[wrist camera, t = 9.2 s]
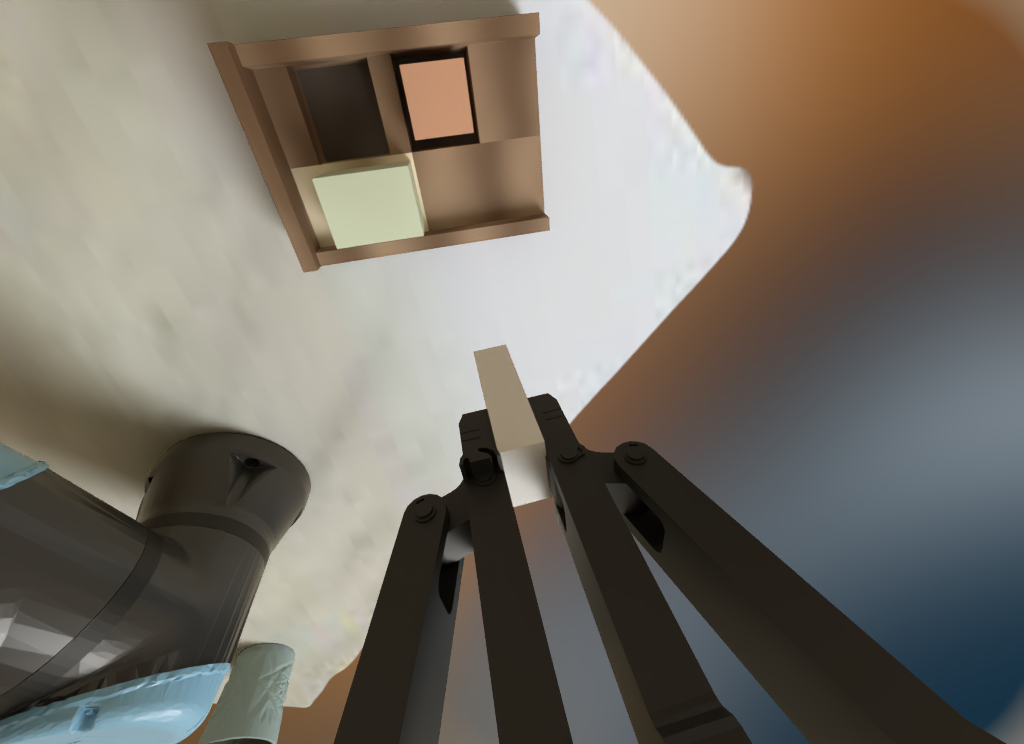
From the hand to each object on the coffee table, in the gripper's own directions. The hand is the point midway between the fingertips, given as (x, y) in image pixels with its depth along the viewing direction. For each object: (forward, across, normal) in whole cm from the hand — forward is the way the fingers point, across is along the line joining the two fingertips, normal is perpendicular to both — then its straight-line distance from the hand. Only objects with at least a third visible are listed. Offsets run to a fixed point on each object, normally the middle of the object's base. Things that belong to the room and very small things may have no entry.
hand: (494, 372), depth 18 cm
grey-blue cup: (+22, +46, +60) cm, 79 cm away
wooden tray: (+20, +2, -9) cm, 22 cm away
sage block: (+18, +5, -6) cm, 19 cm away
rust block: (+20, -1, -11) cm, 23 cm away
